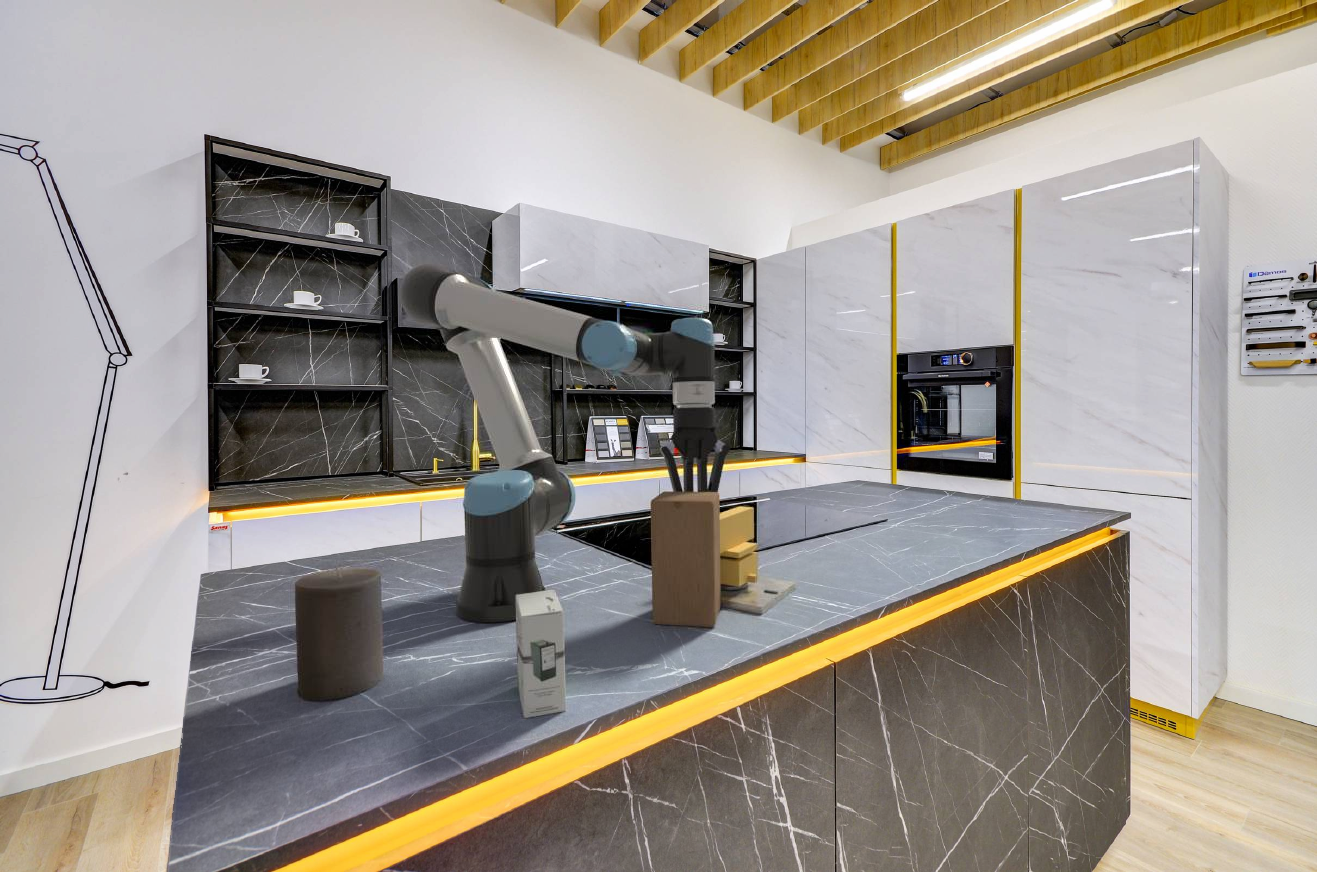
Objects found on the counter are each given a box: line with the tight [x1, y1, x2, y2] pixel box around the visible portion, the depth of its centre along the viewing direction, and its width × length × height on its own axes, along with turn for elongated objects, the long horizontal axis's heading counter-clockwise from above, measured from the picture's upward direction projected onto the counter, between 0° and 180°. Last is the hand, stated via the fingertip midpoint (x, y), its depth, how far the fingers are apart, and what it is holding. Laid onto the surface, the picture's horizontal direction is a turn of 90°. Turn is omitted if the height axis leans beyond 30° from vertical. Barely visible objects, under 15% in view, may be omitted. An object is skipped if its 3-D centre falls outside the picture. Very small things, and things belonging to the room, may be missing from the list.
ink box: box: [515, 589, 567, 719], centre depth 68 cm, size 9×5×12 cm, turn 19°
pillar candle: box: [294, 566, 384, 702], centre depth 73 cm, size 10×10×15 cm
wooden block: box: [650, 490, 722, 628], centre depth 95 cm, size 10×10×20 cm
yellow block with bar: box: [720, 506, 759, 587], centre depth 107 cm, size 11×16×12 cm
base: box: [720, 556, 797, 615], centre depth 107 cm, size 20×16×10 cm
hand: (696, 536), depth 104 cm, fingers closed
